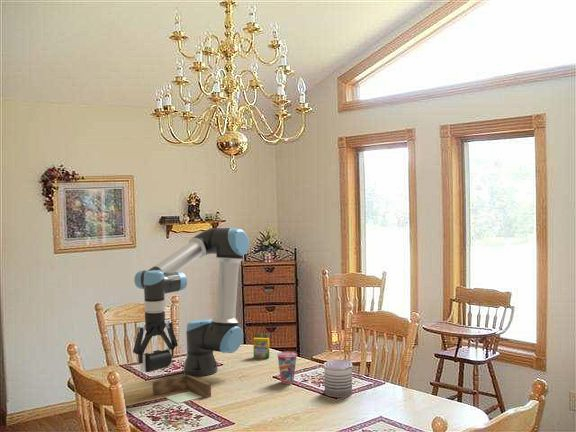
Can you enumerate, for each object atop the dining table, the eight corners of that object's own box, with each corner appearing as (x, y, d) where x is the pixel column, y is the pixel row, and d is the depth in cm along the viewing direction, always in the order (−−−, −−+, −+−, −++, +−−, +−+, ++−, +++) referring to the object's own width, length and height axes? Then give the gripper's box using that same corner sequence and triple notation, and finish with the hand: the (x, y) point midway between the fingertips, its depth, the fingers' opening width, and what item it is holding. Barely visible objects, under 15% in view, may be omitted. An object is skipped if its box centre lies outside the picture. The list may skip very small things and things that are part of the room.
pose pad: (190, 392, 259) (190, 391, 259) (201, 397, 252) (201, 396, 252) (165, 397, 252) (165, 397, 252) (177, 403, 245) (177, 402, 245)
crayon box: (253, 358, 311) (253, 334, 310) (254, 356, 314) (254, 333, 313) (268, 358, 309) (268, 335, 309) (269, 357, 312) (269, 333, 312)
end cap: (151, 374, 241) (150, 356, 240) (139, 370, 245) (139, 353, 245) (172, 368, 248) (171, 350, 248) (161, 365, 253) (160, 347, 252)
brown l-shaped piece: (187, 386, 266) (187, 374, 266) (211, 396, 253) (210, 383, 252) (152, 394, 256) (152, 381, 256) (175, 405, 242) (174, 392, 242)
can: (358, 392, 256) (358, 362, 255) (340, 399, 248) (340, 368, 247) (336, 386, 264) (335, 357, 263) (318, 393, 255) (317, 363, 255)
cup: (274, 384, 268) (273, 355, 268) (282, 378, 276) (281, 350, 276) (295, 386, 265) (294, 357, 264) (302, 380, 273) (302, 352, 272)
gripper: (176, 305, 256) (177, 360, 257) (122, 314, 241) (124, 372, 242) (186, 308, 250) (187, 364, 251) (131, 316, 236) (133, 376, 237)
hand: (156, 368), depth 247 cm, fingers closed on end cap, 10 cm apart
